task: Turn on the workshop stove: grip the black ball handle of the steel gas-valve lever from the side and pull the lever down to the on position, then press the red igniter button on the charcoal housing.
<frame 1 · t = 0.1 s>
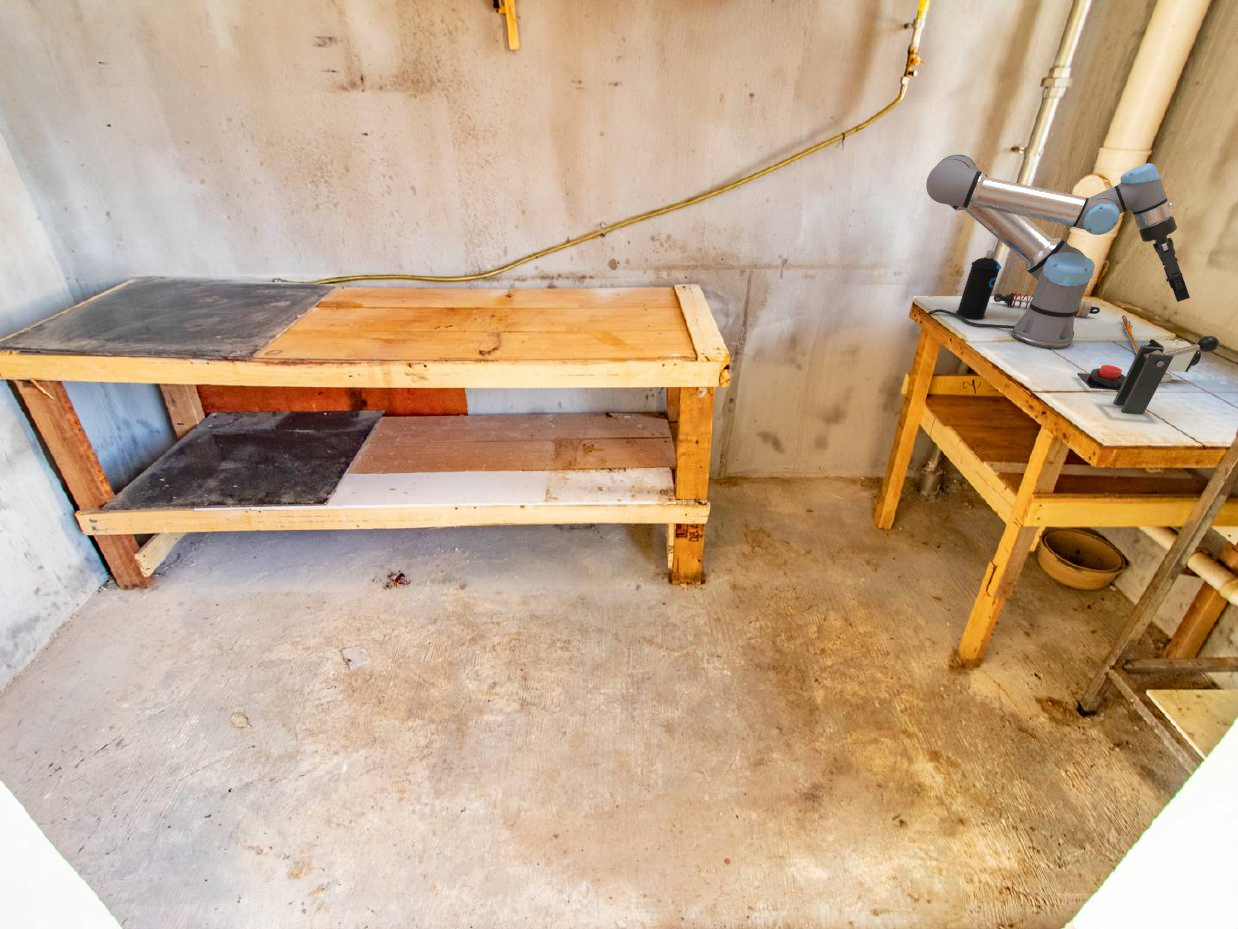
hand: (1180, 292, 180), 15 cm above the table, tool tilted 35°, fingers open, 13 cm apart
shock absorber: (1042, 311, 211), on the table
igniter: (1109, 372, 162), point 4 cm above the table, slide at 0.1 cm
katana: (1130, 342, 190), on the table
pneumatic valve: (1152, 383, 167), on the table
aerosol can: (969, 315, 206), on the table
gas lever: (1181, 351, 143), point 16 cm above the table, hinge at 25.0°
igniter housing: (1102, 387, 164), on the table
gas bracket: (1125, 413, 153), on the table
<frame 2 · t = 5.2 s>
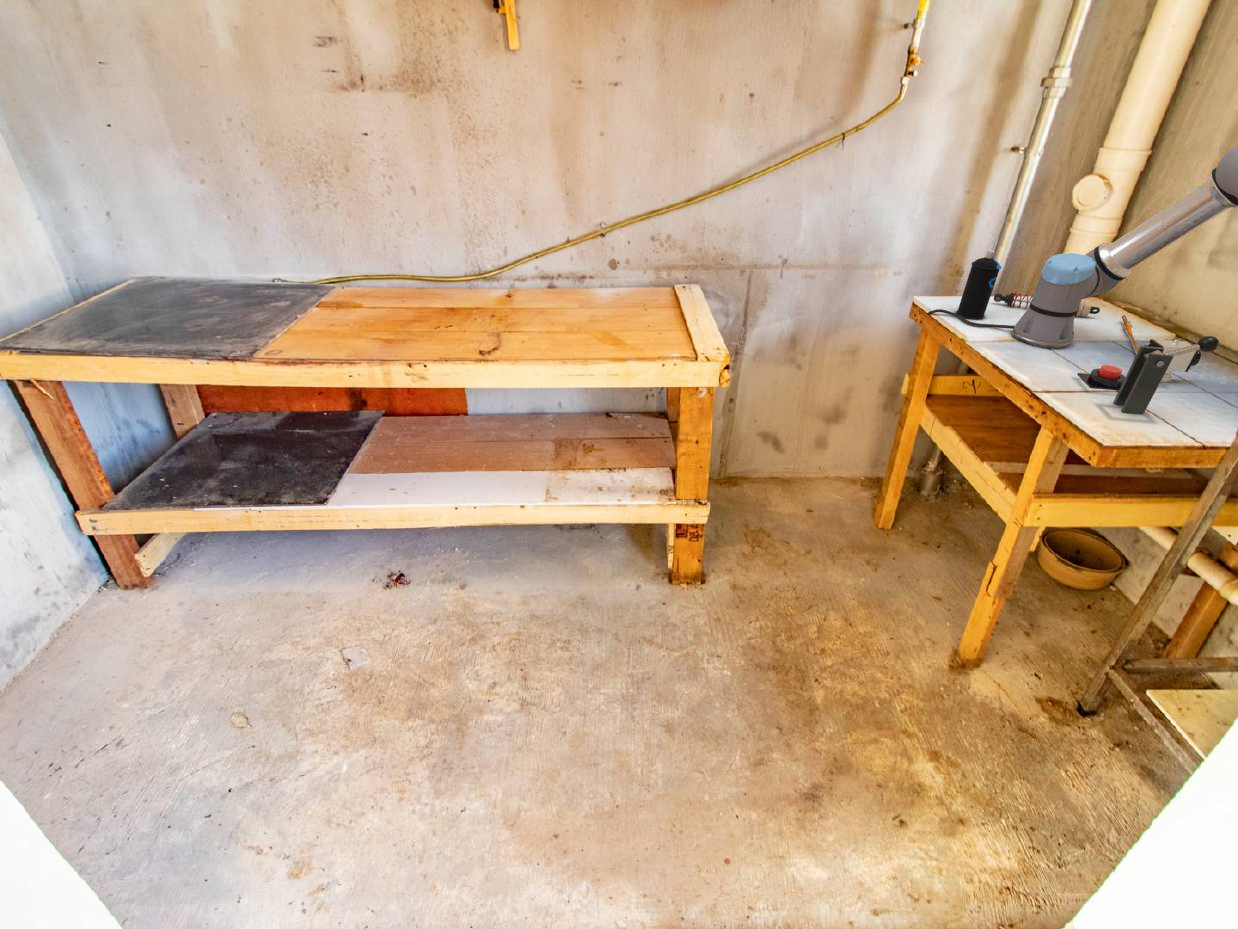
nothing on the table moved.
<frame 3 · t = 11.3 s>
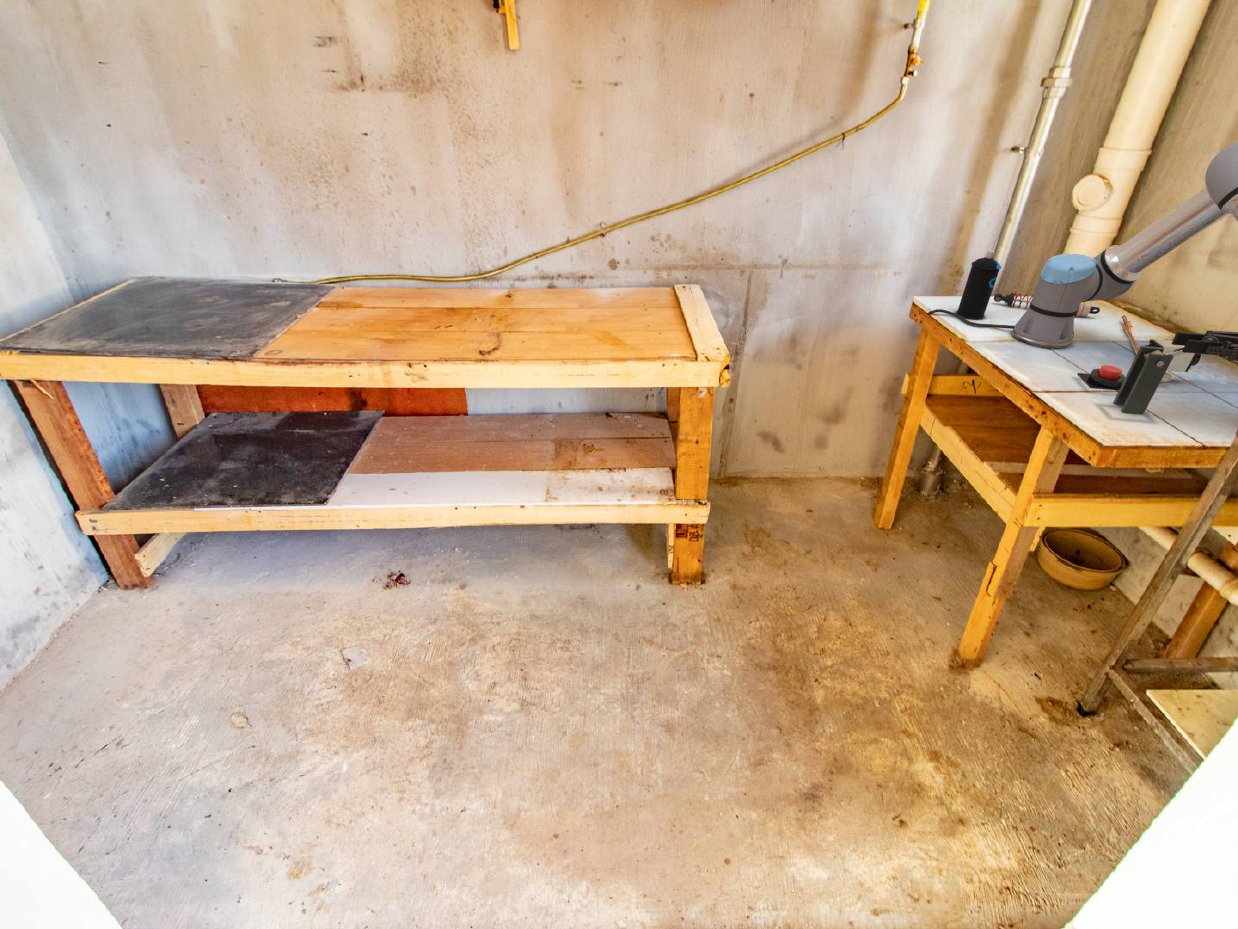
hand: (1180, 342, 142), 18 cm above the table, tool horizontal, fingers closed on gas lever, 4 cm apart
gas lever: (1181, 351, 143), point 16 cm above the table, hinge at 25.0°, touching gripper
everything else where it was.
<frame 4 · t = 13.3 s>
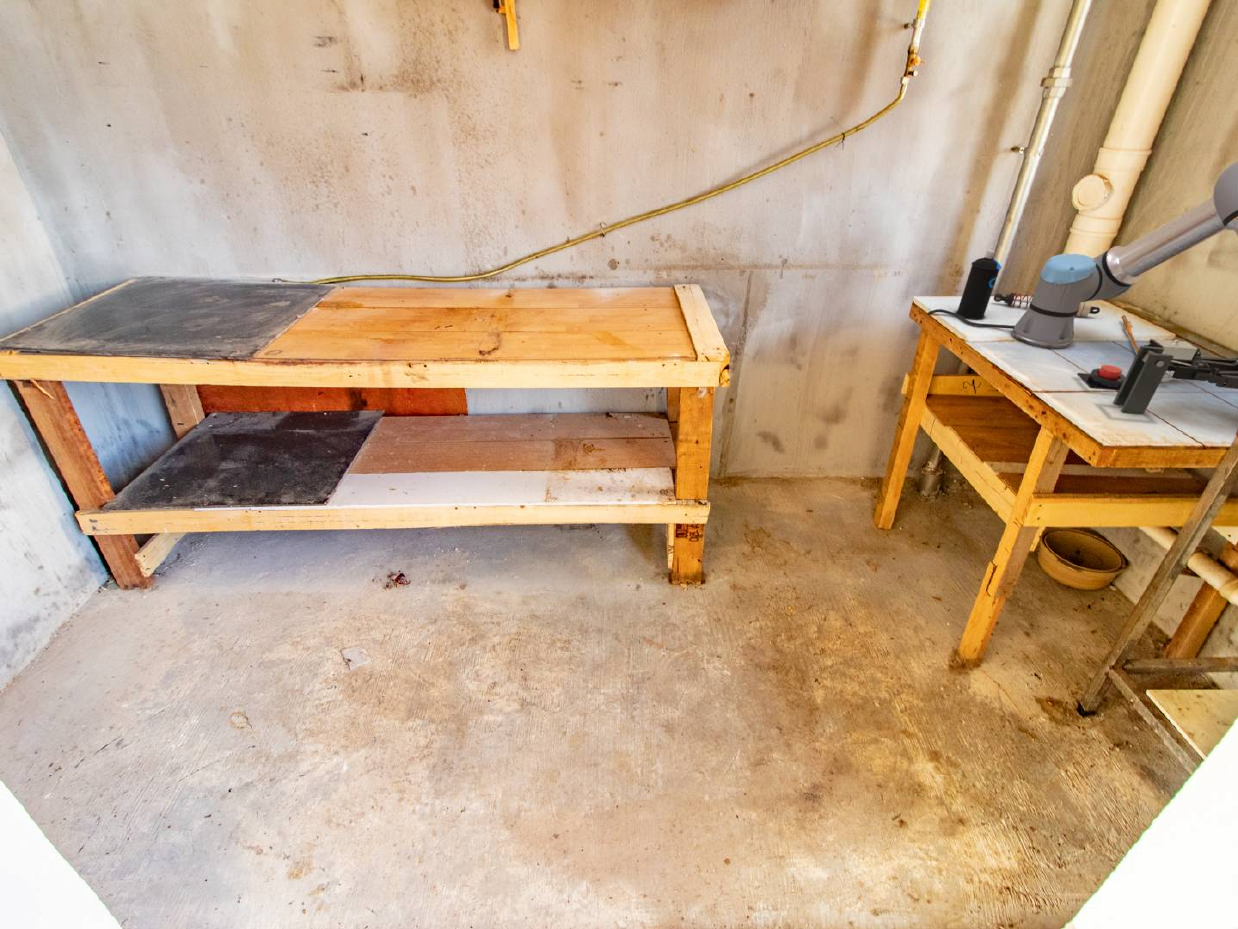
hand: (1170, 368, 146), 12 cm above the table, tool horizontal, fingers closed on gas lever, 4 cm apart
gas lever: (1176, 364, 145), point 13 cm above the table, hinge at -9.5°, touching gripper
everything else where it was.
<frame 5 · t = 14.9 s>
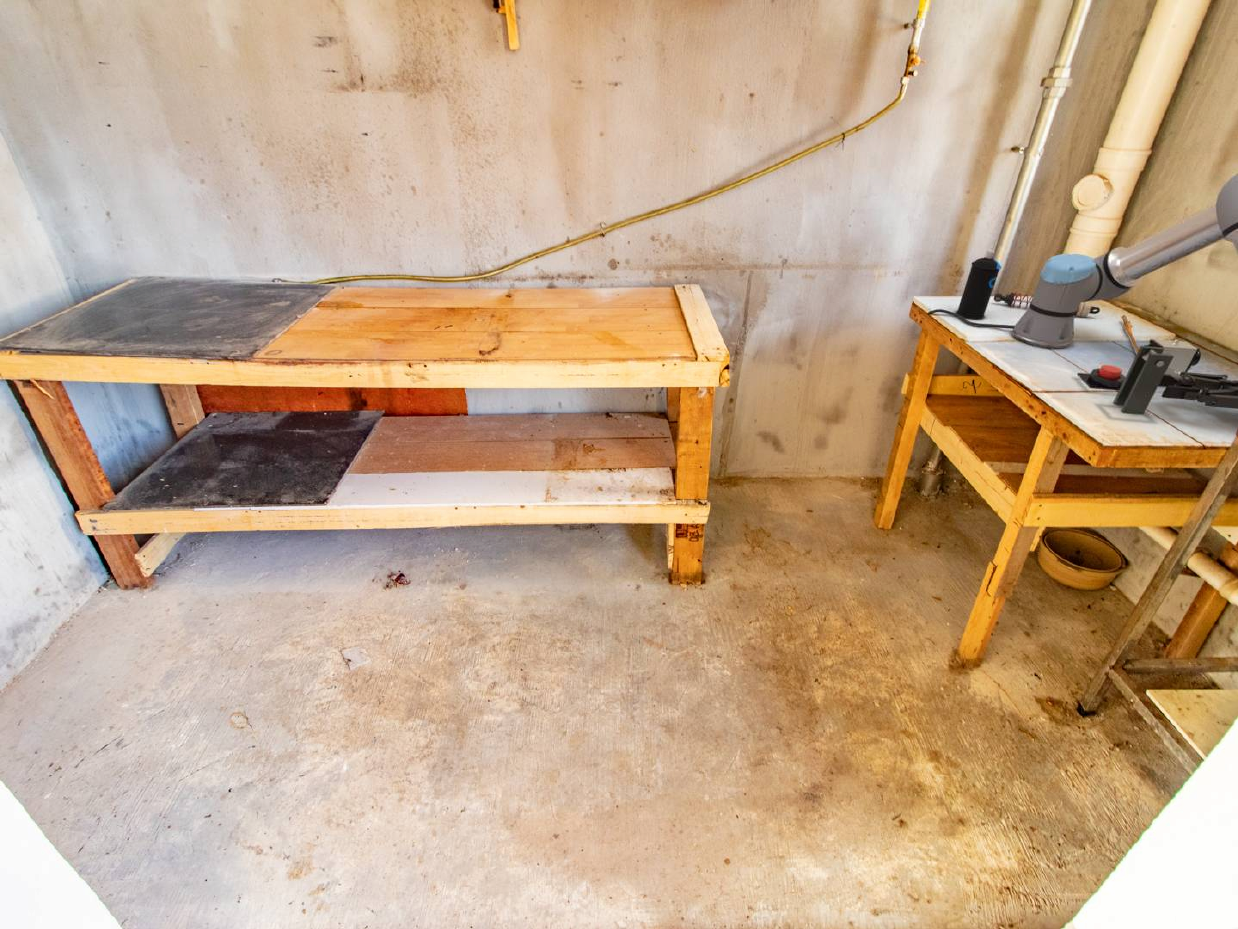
hand: (1158, 385, 148), 8 cm above the table, tool horizontal, fingers open, 5 cm apart
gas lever: (1169, 371, 146), point 11 cm above the table, hinge at -30.5°
everything else where it was.
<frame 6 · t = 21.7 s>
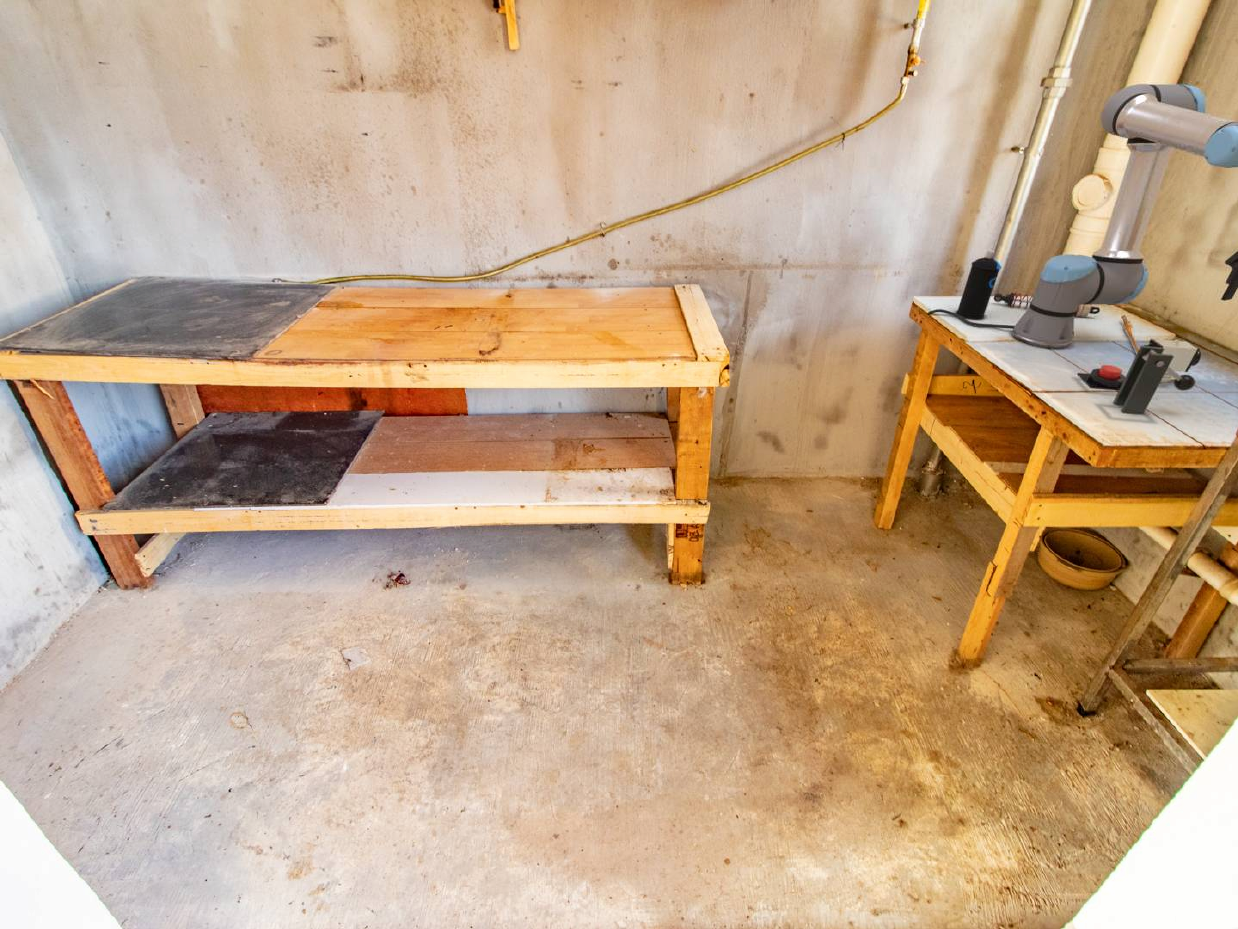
nothing on the table moved.
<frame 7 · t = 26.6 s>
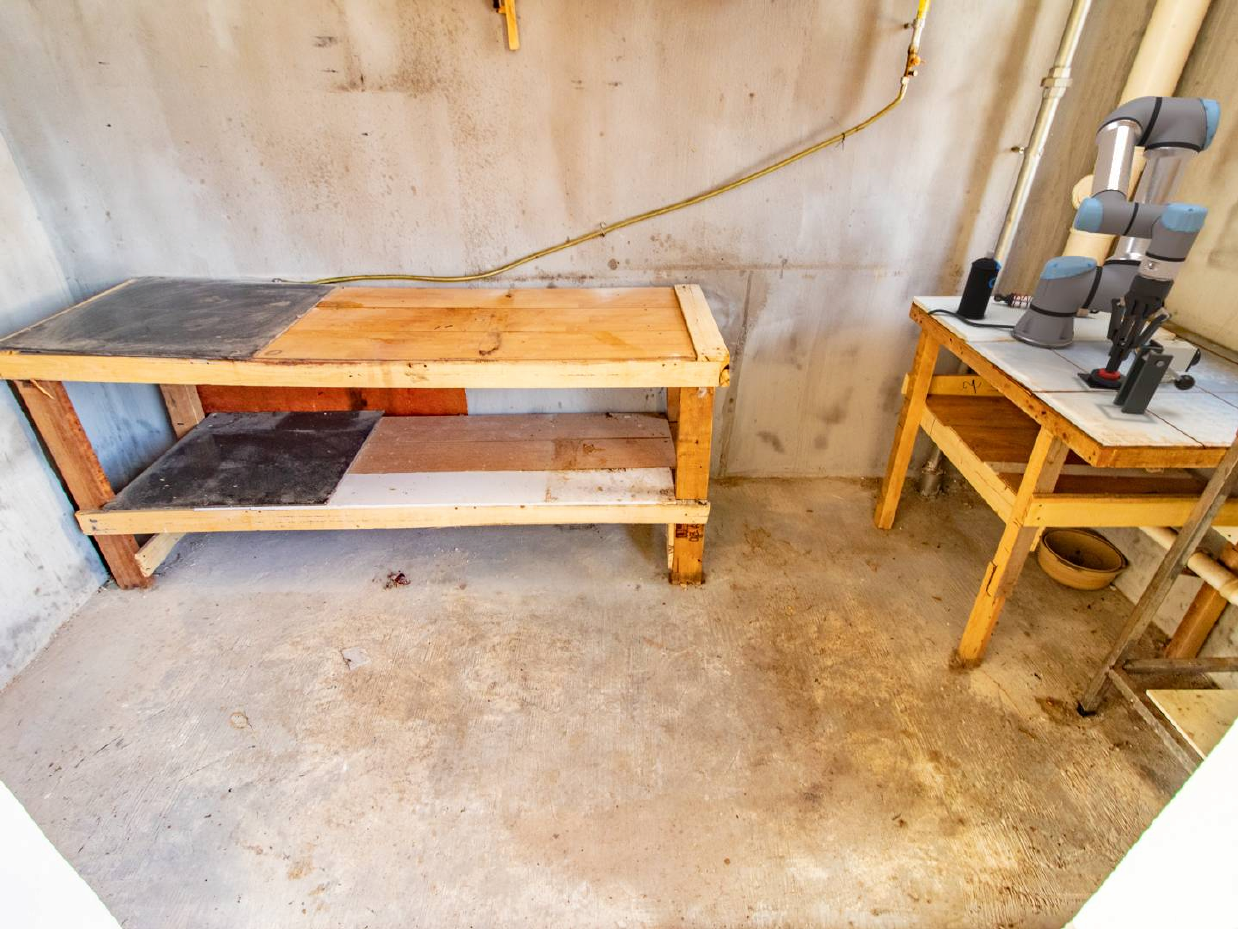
hand: (1110, 370, 162), 5 cm above the table, tool pointing down, fingers closed
igniter: (1108, 375, 163), point 3 cm above the table, slide at -0.6 cm, touching gripper
everything else where it was.
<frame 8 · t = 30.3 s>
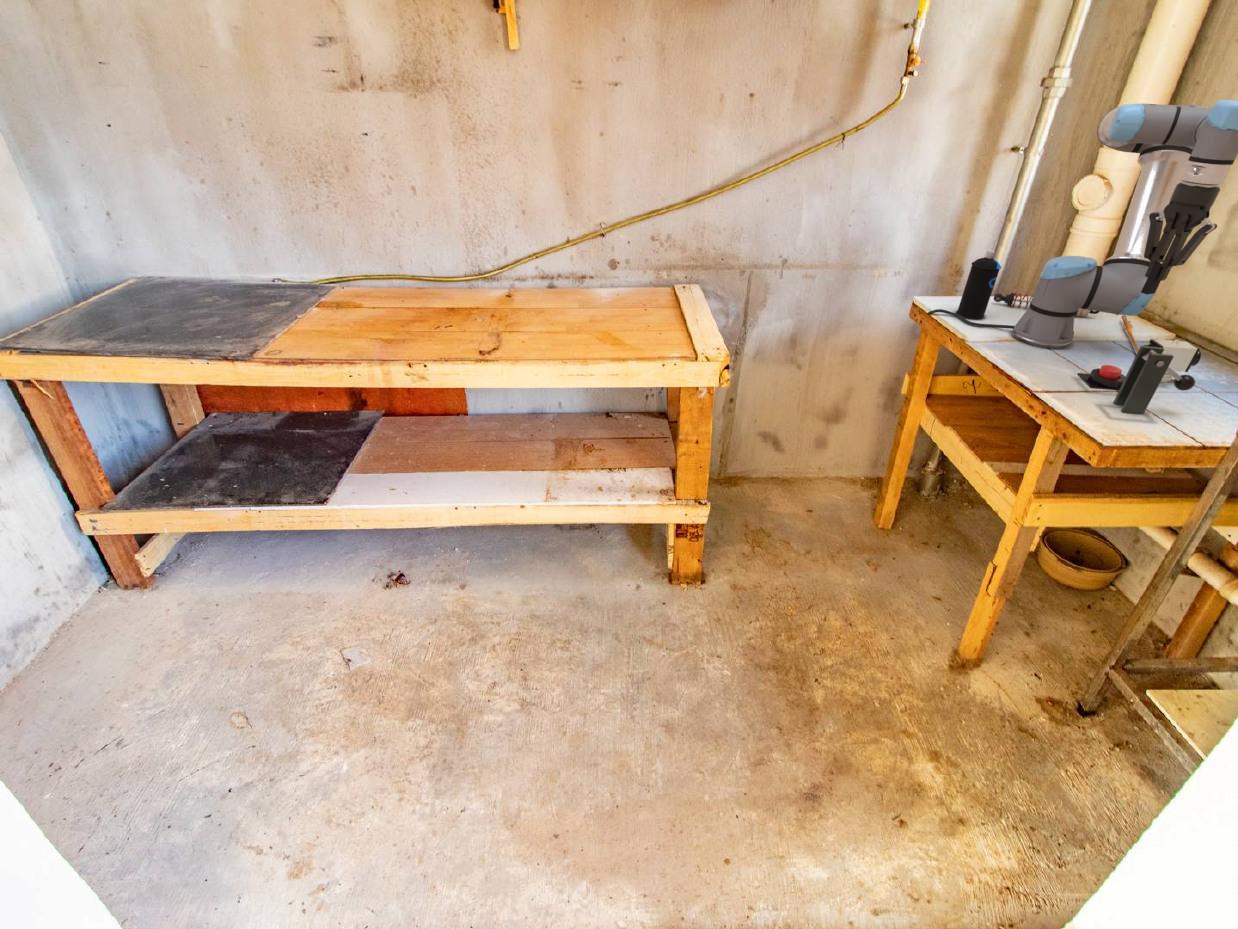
hand: (1147, 292, 151), 24 cm above the table, tool pointing down, fingers closed
igniter: (1109, 372, 162), point 4 cm above the table, slide at 0.1 cm
everything else where it was.
at the end: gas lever at -30° (first picture: +25°); igniter pushed in 1.0 cm at the most during the clip, back to where it started at the end; igniter slide at 0.1 cm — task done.
